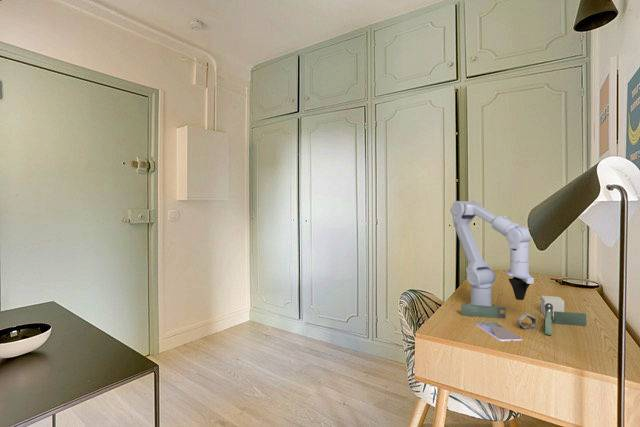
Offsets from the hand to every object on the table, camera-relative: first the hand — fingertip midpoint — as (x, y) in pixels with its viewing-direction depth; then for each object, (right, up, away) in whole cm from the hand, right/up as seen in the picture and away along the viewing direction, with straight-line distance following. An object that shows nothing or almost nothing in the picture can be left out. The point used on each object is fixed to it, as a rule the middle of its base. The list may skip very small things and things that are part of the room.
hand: (519, 299), depth 114 cm
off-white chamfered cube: (+17, -8, +7) cm, 19 cm away
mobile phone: (-13, -9, -9) cm, 18 cm away
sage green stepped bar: (+4, -7, -9) cm, 12 cm away
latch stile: (-11, -8, +5) cm, 14 cm away
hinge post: (+13, -7, -4) cm, 16 cm away
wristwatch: (-2, -8, -7) cm, 10 cm away
